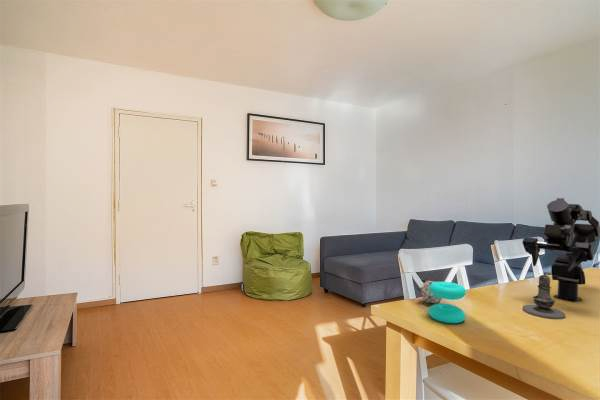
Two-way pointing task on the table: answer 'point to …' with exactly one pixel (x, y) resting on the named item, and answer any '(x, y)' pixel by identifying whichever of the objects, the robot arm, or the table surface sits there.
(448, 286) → the donuts
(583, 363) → the table surface
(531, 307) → the charcoal mat
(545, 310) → the dark grey tall piece
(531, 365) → the table surface
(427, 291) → the game die
